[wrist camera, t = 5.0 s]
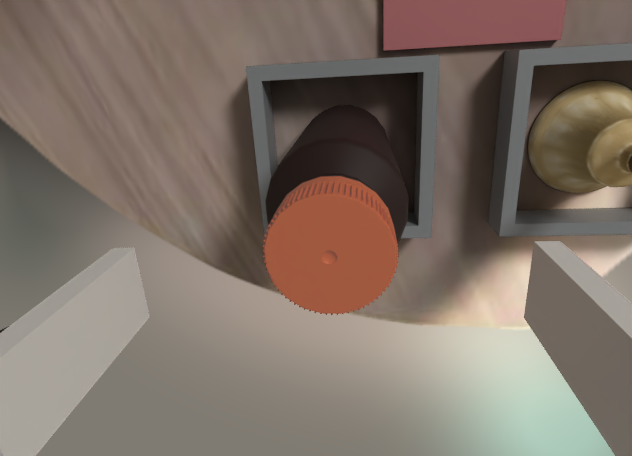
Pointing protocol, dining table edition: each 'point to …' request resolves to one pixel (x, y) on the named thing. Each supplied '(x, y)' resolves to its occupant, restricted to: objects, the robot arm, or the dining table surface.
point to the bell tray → (512, 147)
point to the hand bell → (584, 138)
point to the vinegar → (336, 214)
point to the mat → (469, 22)
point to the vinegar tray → (424, 65)
